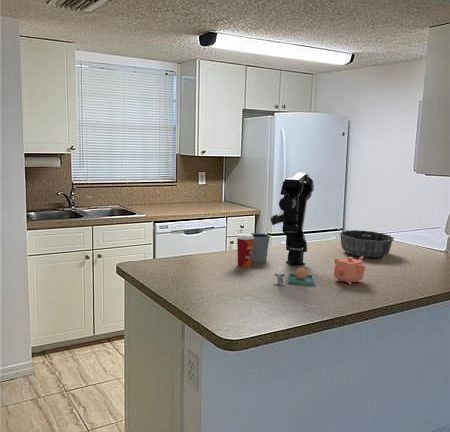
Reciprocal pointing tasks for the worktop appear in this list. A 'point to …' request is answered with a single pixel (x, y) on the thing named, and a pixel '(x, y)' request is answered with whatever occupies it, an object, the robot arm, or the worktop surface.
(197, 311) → the worktop surface
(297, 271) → the ball
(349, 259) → the pink piggy bank
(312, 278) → the coaster tray
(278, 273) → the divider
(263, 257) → the grey tapered cup
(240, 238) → the paper cup
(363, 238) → the bundt pan
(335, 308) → the worktop surface
